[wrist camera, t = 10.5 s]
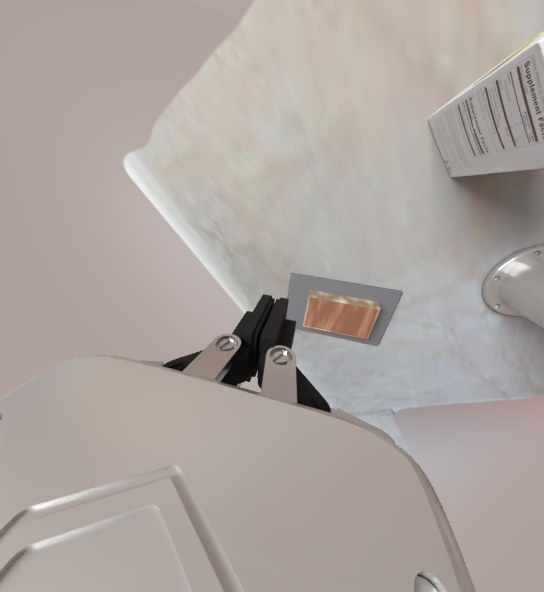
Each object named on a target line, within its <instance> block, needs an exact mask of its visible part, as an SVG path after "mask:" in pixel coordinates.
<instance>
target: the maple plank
mask: <svg viewBox="0 0 544 592" xmlns="http://www.w3.org/2000/svg"><path fill="white" fill-rule="evenodd" d="M380 309H381V308H380V306H379V304H378V302H375V301H369V300H364V299H358V298H352V297H347V296H341V295H335V294H330V293H324V292H319V291H313V290H309V295H308V300H307V305H306V310H305V315H304V320H303V326H305V327H309V328H314V329H319V330H324V331H329V332H333V333H338V334H343V335H348V336H353V337H357V338H362V339H367V340H368V338H369V335H370V333H371V330H372V328H373V326H374V323H375V321H376V318H377V316H378V314H379V311H380Z"/></svg>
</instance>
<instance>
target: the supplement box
mask: <svg viewBox="0 0 544 592" xmlns="http://www.w3.org/2000/svg"><path fill="white" fill-rule="evenodd" d="M428 122H429V125H430V127H431V130H432V132H433V135H434V137H435V140H436V142H437V145H438V147H439V150H440V152H441V155H442V157H443V160H444V162H445V165H446V167H447V169H448V172H449V174H450V177H461V176H472V175H482V174H490V173H500V172H512V171H523V170H534V169H544V30H543V31H542V32H541V33H539V34H538V35H537V36H535V37H534V38H533V39H531V40H530V41H528V42H527V43H526V44H524V45H523V46H522V47H520V48H519V49H518V50H516V51H515V52H514V53H512V54H511V55H510V56H508V57H507V58H506V59H504V60H503V61H502V62H500V63H499V64H498V65H496V66H495V67H494V68H492V69H491V70H490V71H488V72H487V73H486V74H484V75H483V76H482V77H480V78H479V79H478V80H477V81H475V82H474V83H473V84H471V85H470V86H469V87H467V88H466V89H465V90H463V91H462V92H461V93H459V94H458V95H457V96H455V97H454V98H453V99H452V100H450V101H449V102H448V103H446V104H445V105H444V106H443V107H441V108H440V109H439V110H437V111H436V112H435V113H434V114H432V115H431V116H430V117H429V118H428Z"/></svg>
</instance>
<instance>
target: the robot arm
mask: <svg viewBox="0 0 544 592" xmlns="http://www.w3.org/2000/svg"><path fill="white" fill-rule="evenodd" d="M482 292H483V298H484V300H485V302H486V303H487V304H488V305H489V306H490V307H491V308H493V309H494V310H496V311H497V312H499V313H502V314H505V315H510V316H524V317H525V318H527V319H529V320H530V321H532V322H533V323H535V324H537V325H538V326H540V327H541V328H543V329H544V245H540V246H535V247H531V248H528V249H525V250H522V251H520V252H518V253H515V254H513V255H512V256H510V257H508V258H506V259H505V260H504V261H502V262H501V263H500V264H498V265H497V266H496V267H495V268H494V269H493V270H492V271H491V272H490V274H489V275H488V276H487V278H486V280H485V282H484V285H483V289H482ZM288 302H289V299H285V298H280V300H279V299H277V300H276V302H275V304H274V299H273V298H272V296H269V295H264V294H263V295H262V297H261V299H260V301H259V302H258V304H257V306H256V307H255V309H254V311H253V312H250V311H247V312H246V313H245V315H244V316H243V318H242V319H241V321H240V322H239V324H238V325H237V327H236V329H235V330H234V332H233V333H232V334H223V335H220V336H218V337H217V338H215V339H214V340H213V341H212V342H211V343H210V344H209V345H208V346H207V347H206V348H205V349H204V350H203V351H200V352H196V353H194V354H190V355H187V356H184V357H181V358H178V359H175V360H172V361H170V362H167V363H166V364H164V363H163V362H158V361H138V360H134V359H128V358H123V357H117V356H106V355H104V356H103V355H96V356H83V357H77V358H72V359H69V360H66V361H63V362H61V363H59V364H57V365H55V366H53V367H51V368H49V369H48V370H46V371H44V372H42V373H40V374H39V375H37V376H35V377H34V378H32V379H30V380H29V381H27V382H25V383H24V384H22V385H21V386H19V387H17V388H16V389H14V390H13V391H11V392H9V393H8V394H6V395H5V396H3V397H2V398H0V592H476V591H475V588H474V585H473V583H472V580H471V577H470V575H469V572H468V569H467V567H466V564H465V561H464V559H463V556H462V553H461V551H460V548H459V546H458V543H457V541H456V539H455V536H454V533H453V531H452V529H451V526H450V524H449V521H448V519H447V517H446V514H445V512H444V510H443V507H442V505H441V503H440V501H439V499H438V497H437V495H436V493H435V491H434V489H433V487H432V485H431V483H430V481H429V480H428V478H427V477H426V475H425V473H424V472H423V471H422V469H421V468H420V466H419V465H418V464H417V463H416V462H415V461H414V460H413V458H412V457H411V456H410V455H409V454H407V453H406V452H405V451H404V450H403V449H401V448H400V447H399V446H398V445H396V444H395V442H394V440H393V439H392V438H391V437H390V436H389V435H388V434H387V433H385V432H384V431H382V430H380V429H378V428H376V427H374V426H372V425H370V424H368V423H366V422H364V421H362V420H360V419H358V418H356V417H354V416H352V415H350V414H348V413H346V412H344V411H342V410H340V409H338V408H337V411H336V410H334V409H332V408H330V406H329V405H328V403H327V402H326V400H325V399H324V398H323V397H322V396H321V394H320V393H319V392H318V391H317V390H316V389H315V387H314V386H313V385H312V384H311V383H310V382H309V381H308V379H307V378H306V377H305V376H304V375H303V374H302V372H301V371H300V370H299V369H298V368H297V367H296V357H295V354H294V352H293V351H292V350H291V348H292V343H293V338H294V333H295V327H296V321H293V320H289V319H286V316H287V309H288ZM257 370H258V376H257V377H258V385H259V387H260V388H261V393H259V392H255V391H251V390H248V389H244V388H240V385H241V383H242V382H244V381H248V382H250V380H251V377H252V376H253V377H255V376H256V373H257ZM416 576H418V577H416Z"/></svg>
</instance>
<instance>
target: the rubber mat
mask: <svg viewBox="0 0 544 592" xmlns="http://www.w3.org/2000/svg"><path fill="white" fill-rule="evenodd" d="M309 290H313V291H319V292H324V293H330V294H335V295H341V296H347V297H352V298H358V299H364V300H369V301H375V302H378V304H379V306H380V308H381V309H380V311H379V314H378V316H377V318H376V321H375V323H374V326H373V328H372V330H371V333H370V335H369V338H368V340H367V339H362V338H357V337H353V336H348V335H343V334H338V333H333V332H329V331H324V330H319V329H314V328H309V327H305V326H303V320H304V315H305V310H306V305H307V300H308V295H309ZM401 294H402V291H398V290H392V289H386V288H380V287H374V286H368V285H362V284H356V283H349V282H343V281H337V280H331V279H325V278H319V277H313V276H307V275H301V274H295V273H291V277H290V284H289V291H288V298H287V299H289V302H288V309H287V316H286V319H289V320H293V321H296V327H295V329H300V330H305V331H309V332H314V333H319V334H324V335H328V336H333V337H338V338H343V339H347V340H352V341H357V342H362V343H366V344H371V345H376V346H378V344H379V342H380V339H381V337H382V335H383V333H384V331H385V329H386V326H387V324H388V322H389V320H390V318H391V316H392V313H393V311H394V309H395V307H396V305H397V303H398V300H399V298H400V296H401Z"/></svg>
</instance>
